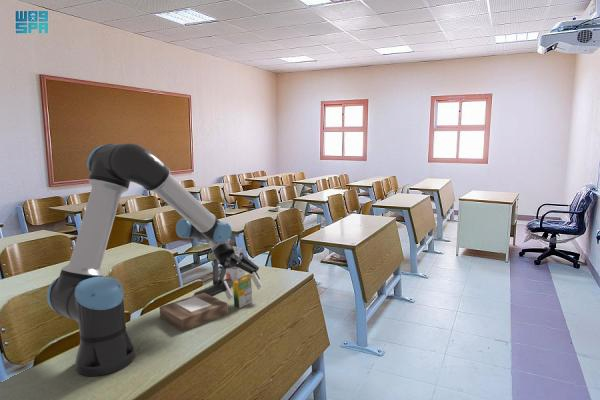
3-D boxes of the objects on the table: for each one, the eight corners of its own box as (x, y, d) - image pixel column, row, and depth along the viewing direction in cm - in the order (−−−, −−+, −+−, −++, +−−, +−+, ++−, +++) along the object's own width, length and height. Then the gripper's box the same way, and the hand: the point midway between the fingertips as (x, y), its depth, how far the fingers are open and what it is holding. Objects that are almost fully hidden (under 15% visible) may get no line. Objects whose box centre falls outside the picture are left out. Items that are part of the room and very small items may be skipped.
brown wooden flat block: (182, 331, 130) (181, 318, 129) (160, 317, 141) (159, 305, 140) (228, 314, 142) (227, 302, 142) (204, 302, 153) (203, 291, 153)
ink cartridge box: (225, 279, 180) (224, 247, 178) (234, 276, 184) (232, 245, 182) (237, 283, 175) (235, 250, 173) (246, 280, 178) (244, 248, 176)
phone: (192, 293, 161) (219, 282, 174) (193, 296, 161) (219, 285, 174) (206, 297, 157) (232, 285, 169) (206, 299, 157) (232, 288, 169)
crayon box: (247, 300, 154) (245, 271, 153) (252, 302, 153) (251, 273, 151) (233, 306, 148) (232, 277, 147) (239, 308, 147) (237, 278, 145)
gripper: (243, 246, 168) (267, 288, 159) (190, 259, 150) (214, 307, 142) (250, 236, 163) (275, 279, 155) (196, 248, 146) (221, 297, 137)
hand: (246, 292), depth 148 cm, fingers open, 13 cm apart
